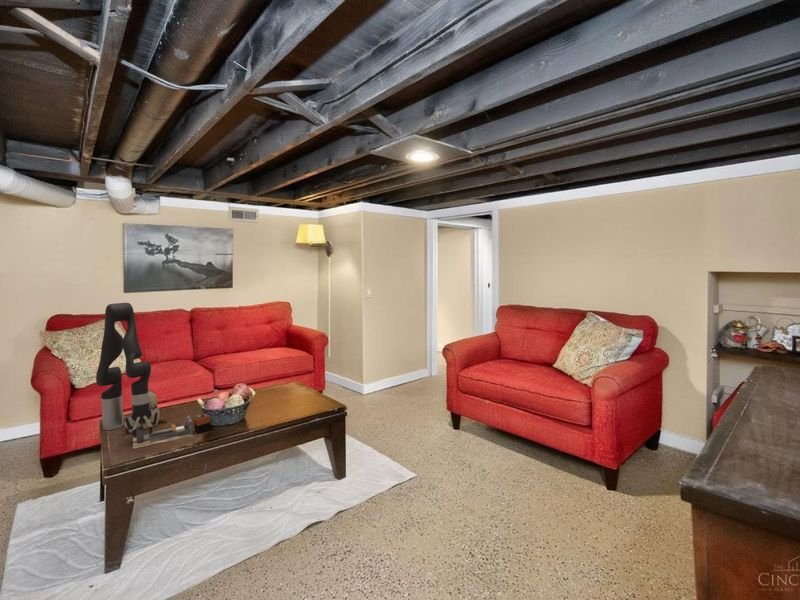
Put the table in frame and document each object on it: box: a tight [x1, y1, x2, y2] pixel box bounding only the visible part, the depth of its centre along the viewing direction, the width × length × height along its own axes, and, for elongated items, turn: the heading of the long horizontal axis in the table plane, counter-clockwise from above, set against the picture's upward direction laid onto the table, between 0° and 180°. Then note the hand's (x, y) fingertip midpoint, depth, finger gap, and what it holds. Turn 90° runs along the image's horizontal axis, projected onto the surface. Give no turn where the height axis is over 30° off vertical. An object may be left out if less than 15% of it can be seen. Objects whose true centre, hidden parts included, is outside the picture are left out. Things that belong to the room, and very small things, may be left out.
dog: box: [123, 390, 168, 434], centre depth 221 cm, size 23×19×20 cm
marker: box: [176, 425, 185, 432], centre depth 210 cm, size 4×4×3 cm
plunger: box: [136, 423, 177, 442], centre depth 204 cm, size 5×17×6 cm, turn 124°
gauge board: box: [132, 415, 194, 449], centre depth 206 cm, size 14×26×8 cm, turn 124°
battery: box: [193, 413, 212, 435], centre depth 213 cm, size 4×7×10 cm, turn 139°
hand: (142, 434), depth 201 cm, fingers closed on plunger, 5 cm apart
